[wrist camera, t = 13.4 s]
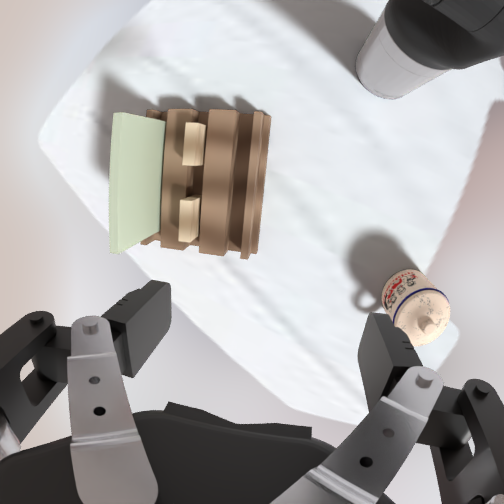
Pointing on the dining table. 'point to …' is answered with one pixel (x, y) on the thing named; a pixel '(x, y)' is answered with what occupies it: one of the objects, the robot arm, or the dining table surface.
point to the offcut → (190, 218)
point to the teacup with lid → (416, 306)
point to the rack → (215, 180)
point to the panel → (135, 179)
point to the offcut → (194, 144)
